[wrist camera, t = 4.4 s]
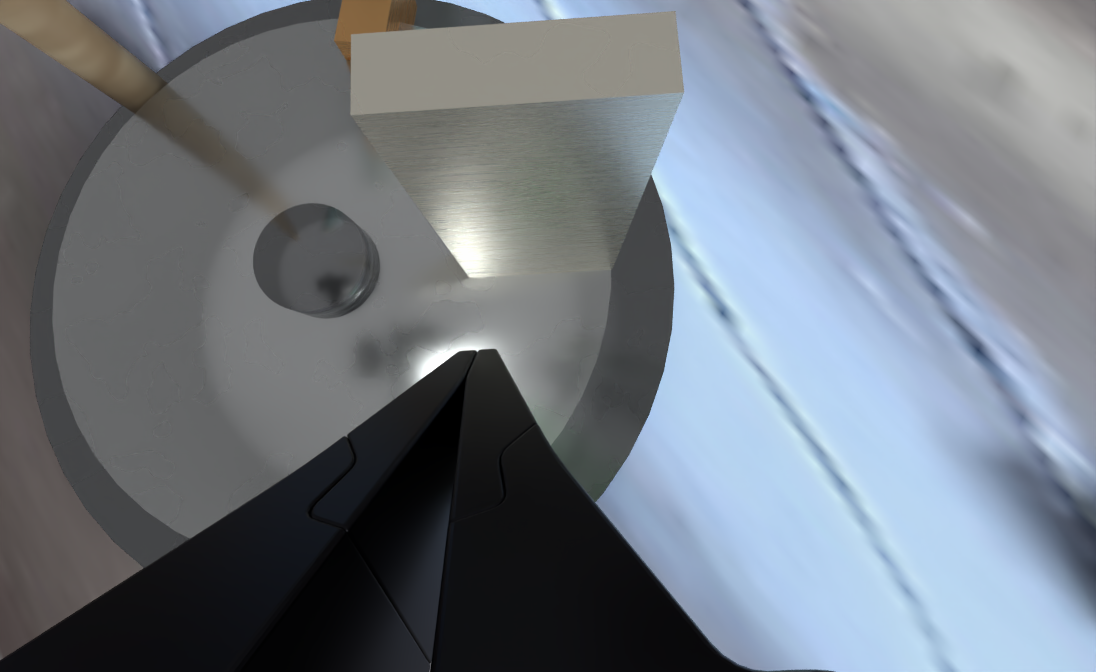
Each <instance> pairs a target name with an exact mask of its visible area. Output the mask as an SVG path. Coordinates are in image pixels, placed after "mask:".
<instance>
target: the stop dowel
mask: <svg viewBox="0 0 1096 672" xmlns="http://www.w3.org/2000/svg"><path fill="white" fill-rule="evenodd" d="M0 23H1V24H2V25H4V26H5V27H7V28H8V29H10V30H11V31H13V32H14V33H16V34H17V35H19V36H20V37H22V38H23V39H25V40H26V41H28V42H29V43H31V44H32V45H34V46H35V47H36V48H38V49H39V50H41V51H42V52H44V53H45V54H47V55H48V56H50V57H51V58H53V59H54V60H56V61H57V62H59V63H60V64H62V65H63V66H65V67H66V68H68V69H69V70H71V71H72V72H74V73H75V74H77V75H78V76H79V77H81V78H82V79H84V80H85V81H87V82H88V83H90V84H91V85H93V86H94V87H96V88H97V89H99V90H100V91H102V92H103V93H105V94H106V95H108V96H109V97H111V98H112V99H114V100H115V101H117V102H118V103H120V104H121V105H122V106H124V107H125V108H127V109H128V110H130V111H131V112H133V113H134V114H135V113H136V112H137V111H138V110H139V109H140V108H141V107H142V106H143V105H144V104H145V103H146V102H147V101H148V100H149V99H150V98H151V97H152V96H154V95H155V94H156V93H157V92H159V91H160V90H161V89H162V88H163V87H165V86H166V85H167V84H168V83H167V82H166V81H165V80H163V79H162V78H161V77H160V76H158V75H157V74H156V73H155V72H154V71H152V70H151V69H150V68H149V67H147V66H146V65H145V64H144V63H142V62H141V61H140V60H139V59H137V58H136V57H135V56H134V55H133V54H131V53H130V52H129V51H128V50H126V49H125V48H124V47H123V46H121V45H120V44H119V43H118V42H116V41H115V40H114V39H113V38H112V37H110V36H109V35H108V34H107V33H105V32H104V31H103V30H102V29H100V28H99V27H98V26H97V25H95V24H94V23H93V22H92V21H91V20H89V19H88V18H87V17H86V16H84V15H83V14H82V13H81V12H79V11H78V10H77V9H76V8H74V7H73V6H72V5H71V4H70V3H68V2H67V1H66V0H0Z"/></svg>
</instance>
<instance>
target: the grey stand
mask: <svg viewBox="0 0 1096 672" xmlns="http://www.w3.org/2000/svg"><path fill="white" fill-rule="evenodd" d="M416 11H417V4H416V1H415V0H342V4H341V8H340V13H339V18H338V19H328V20H320V21H313V22H305V23H298V24H294V25H290V26H286V27H282V28H278V29H274V30H270V31H266V32H264V33H261V34H258V35H256V36H253V37H250V38H248V39H245V40H242V41H240V42H237V43H234V44H232V45H230V46H228V47H226V48H224V49H222V50H220V51H218V52H216V53H215V54H213V55H211V56H209V57H207V58H205V59H203V60H201V61H200V62H198V63H197V64H195V65H194V66H192V67H191V68H189V69H188V70H186V71H185V72H183V73H182V74H180V75H179V76H177V77H176V78H174V79H173V80H172V81H171V82H169V83H168V84H167V85H166V86H165V87H163V88H162V89H161V90H160V91H159V92H157V93H156V94H155V95H154V96H152V97H151V98H150V99H149V100H148V101H147V102H146V103H145V104H144V105H143V106H142V107H141V108H140V109H139V110H138V111H137V112H136V113H135V114H134V115H133V116H132V117H131V118H130V119H129V121H128V122H127V123H126V124H125V125H124V126H123V127H122V128H121V130H120V131H119V132H118V134H117V135H116V136H115V138H114V139H113V140H112V141H111V143H110V144H109V145H108V147H107V148H106V149H105V151H104V152H103V153H102V155H101V157H100V158H99V160H98V162H97V163H96V165H95V167H94V168H93V170H92V172H91V173H90V175H89V177H88V179H87V180H86V182H85V184H84V186H83V188H82V190H81V193H80V195H79V197H78V199H77V202H76V204H75V206H74V208H73V211H72V213H71V215H70V218H69V221H68V224H67V228H66V231H65V234H64V238H63V241H62V244H61V248H60V251H59V257H58V263H57V269H56V275H55V281H54V290H53V317H52V323H53V333H54V344H55V354H56V360H57V364H58V368H59V372H60V377H61V381H62V385H63V389H64V393H65V395H66V398H67V400H68V403H69V405H70V408H71V410H72V413H73V416H74V418H75V421H76V423H77V425H78V427H79V429H80V431H81V432H82V434H83V436H84V438H85V439H86V441H87V443H88V445H89V446H90V448H91V450H92V452H93V453H94V455H95V457H96V458H97V459H98V460H99V462H100V463H101V464H102V466H103V467H104V468H105V469H106V471H107V472H108V473H109V474H110V476H111V477H112V478H113V479H114V481H115V482H116V483H117V485H118V486H119V487H121V488H122V489H123V490H124V491H125V492H126V493H127V494H128V495H129V496H130V497H131V498H132V499H133V500H134V501H135V502H137V503H138V504H139V505H140V506H141V507H142V508H143V509H144V510H145V511H147V512H148V513H150V514H151V515H152V516H154V517H155V518H157V519H158V520H160V521H161V522H163V523H164V524H165V525H167V526H168V527H170V528H171V529H173V530H174V531H176V532H178V533H180V534H182V535H184V536H186V537H188V538H192V537H193V536H195V535H196V534H198V533H200V532H201V531H203V530H204V529H206V528H207V527H209V526H210V525H212V524H214V523H215V522H217V521H218V520H220V519H221V518H223V517H224V516H226V515H228V514H229V513H231V512H232V511H234V510H235V509H237V508H238V507H240V506H242V505H243V504H245V503H246V502H248V501H249V500H251V499H252V498H254V497H256V496H257V495H259V494H260V493H262V492H263V491H265V490H267V489H268V488H270V487H271V486H273V485H274V484H276V483H277V482H279V481H280V480H282V479H283V478H285V477H286V476H288V475H289V474H291V473H292V472H294V471H295V470H297V469H298V468H300V467H301V466H303V465H304V464H306V463H307V462H309V461H310V460H311V459H313V458H314V457H316V456H317V455H318V454H320V453H321V452H323V451H324V450H325V449H327V448H328V447H330V446H331V445H332V444H334V443H335V442H336V441H338V440H339V439H340V438H342V437H343V436H346V437H347V434H348V433H349V432H351V431H352V430H353V429H355V428H356V427H357V426H359V425H360V424H361V423H363V422H364V421H366V420H367V419H368V418H370V417H371V416H372V415H374V414H375V413H376V412H378V411H379V410H380V409H382V408H383V407H384V406H386V405H387V404H388V403H390V402H391V401H392V400H394V399H395V398H396V397H398V396H399V395H400V394H402V393H403V392H404V391H406V390H407V389H408V388H410V387H411V386H412V385H414V384H415V383H416V382H418V381H419V380H421V379H422V378H423V377H425V376H426V375H427V374H429V373H430V372H431V371H433V370H434V369H435V368H437V367H438V366H439V365H441V364H442V363H443V362H445V361H446V360H447V359H449V358H450V357H451V356H453V355H454V354H455V353H457V352H458V351H464V350H476V351H477V352H478V351H479V350H481V349H496V350H497V351H498V352H499V354H500V356H501V358H502V360H503V362H504V363H505V365H506V367H507V369H508V371H509V373H510V374H511V376H512V378H513V380H514V382H515V383H516V385H517V387H518V389H519V391H520V393H521V394H522V396H523V398H524V400H525V402H526V404H527V405H528V407H529V409H530V411H531V413H532V414H533V416H534V418H535V420H536V422H537V424H538V425H539V426H540V428H541V430H542V432H543V434H544V435H545V437H546V439H547V440H548V442H549V444H550V445H552V443H553V442H554V441H555V439H556V438H557V437H558V436H559V434H560V433H561V432H562V430H563V429H564V427H565V425H566V423H567V422H568V420H569V418H570V416H571V415H572V413H573V411H574V409H575V408H576V406H577V404H578V402H579V401H580V399H581V397H582V395H583V393H584V390H585V388H586V386H587V383H588V381H589V378H590V376H591V373H592V371H593V369H594V366H595V364H596V361H597V358H598V354H599V350H600V347H601V343H602V339H603V335H604V331H605V328H606V324H607V316H608V308H609V300H610V292H611V269H613V266H614V264H615V261H616V259H617V256H618V254H619V251H620V249H621V246H622V244H623V242H624V239H625V237H626V234H627V232H628V229H629V227H630V224H631V222H632V219H633V217H634V215H635V212H636V210H637V207H638V205H639V202H640V200H641V197H642V195H643V192H644V190H645V188H646V185H647V183H648V180H649V178H650V175H651V173H652V170H653V168H654V165H655V163H656V160H657V158H658V156H659V153H660V151H661V148H662V146H663V143H664V141H665V138H666V136H667V133H668V131H669V129H670V126H671V124H672V121H673V119H674V116H675V114H676V111H677V109H678V106H679V104H680V102H681V99H682V97H683V94H684V86H683V77H682V68H681V59H680V50H679V41H678V32H677V23H676V13H675V11H671V12H657V13H643V14H629V15H615V16H601V17H587V18H573V19H559V20H545V21H531V22H517V23H503V24H489V25H475V26H461V27H447V28H432V29H427V28H423V27H419V26H414V22H415V16H416Z"/></svg>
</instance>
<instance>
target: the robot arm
mask: <svg viewBox="0 0 1096 672" xmlns="http://www.w3.org/2000/svg"><path fill="white" fill-rule="evenodd" d="M431 661H432V662H431ZM430 663H431V670H430ZM429 670H430V672H834V671H828V670H781V671H762V670H753V669H750V668H747V667H745V666H742V665H739V664H737V663H735V662H734V661H732V660H731V659H729V658H727V657H726V656H724V655H723V654H722V653H721V652H720V651H719V650H718V649H717V648H716V647H715V646H714V645H713V644H712V643H711V642H710V641H709V640H708V638H707V637H706V636H705V635H704V634H703V632H702V631H701V630H700V629H699V628H698V626H697V625H696V624H695V623H694V622H693V620H692V619H691V618H690V617H689V615H688V614H687V613H686V612H685V611H684V609H683V608H682V607H681V606H680V605H679V603H678V602H677V601H676V600H675V599H674V597H673V596H672V595H671V594H670V592H669V591H668V590H667V589H666V588H665V586H664V585H663V584H662V583H661V582H660V580H659V579H658V578H657V577H656V576H655V574H654V573H653V572H652V571H651V569H650V568H649V567H648V566H647V565H646V563H645V562H644V561H643V560H642V559H641V557H640V556H639V555H638V554H637V553H636V551H635V550H634V549H633V548H632V546H631V545H630V544H629V543H628V542H627V540H626V539H625V538H624V537H623V536H622V534H621V533H620V532H619V531H618V530H617V528H616V527H615V526H614V525H613V523H612V522H611V521H610V520H609V519H608V517H607V516H606V515H605V514H604V513H603V511H602V510H601V509H600V508H599V507H598V505H597V504H596V503H595V502H594V501H593V499H592V498H591V497H590V496H589V494H588V493H587V492H586V491H585V490H584V488H583V487H582V486H581V485H580V484H579V482H578V481H577V480H576V479H575V478H574V476H573V475H572V474H571V473H570V471H569V470H568V469H567V468H566V466H565V465H564V464H563V462H562V461H561V460H560V458H559V457H558V456H557V454H556V453H555V452H554V450H553V448H552V447H551V445H550V444H549V442H548V440H547V439H546V437H545V435H544V434H543V432H542V430H541V428H540V426H539V425H538V424H537V422H536V420H535V418H534V416H533V414H532V413H531V411H530V409H529V407H528V405H527V404H526V402H525V400H524V398H523V396H522V394H521V393H520V391H519V389H518V387H517V385H516V383H515V382H514V380H513V378H512V376H511V374H510V373H509V371H508V369H507V367H506V365H505V363H504V362H503V360H502V358H501V356H500V354H499V352H498V351H497V350H496V349H481V350H479V351H478V352H477V351H476V350H464V351H458V352H457V353H455V354H454V355H453V356H451V357H450V358H449V359H447V360H446V361H445V362H443V363H442V364H441V365H439V366H438V367H437V368H435V369H434V370H433V371H431V372H430V373H429V374H427V375H426V376H425V377H423V378H422V379H421V380H419V381H418V382H416V383H415V384H414V385H412V386H411V387H410V388H408V389H407V390H406V391H404V392H403V393H402V394H400V395H399V396H398V397H396V398H395V399H394V400H392V401H391V402H390V403H388V404H387V405H386V406H384V407H383V408H382V409H380V410H379V411H378V412H376V413H375V414H374V415H372V416H371V417H370V418H368V419H367V420H366V421H364V422H363V423H361V424H360V425H359V426H357V427H356V428H355V429H353V430H352V431H351V432H349V433H348V434H347V437H346V436H343V437H342V438H340V439H339V440H338V441H336V442H335V443H334V444H332V445H331V446H330V447H328V448H327V449H325V450H324V451H323V452H321V453H320V454H318V455H317V456H316V457H314V458H313V459H311V460H310V461H309V462H307V463H306V464H304V465H303V466H301V467H300V468H298V469H297V470H295V471H294V472H292V473H291V474H289V475H288V476H286V477H285V478H283V479H282V480H280V481H279V482H277V483H276V484H274V485H273V486H271V487H270V488H268V489H267V490H265V491H263V492H262V493H260V494H259V495H257V496H256V497H254V498H252V499H251V500H249V501H248V502H246V503H245V504H243V505H242V506H240V507H238V508H237V509H235V510H234V511H232V512H231V513H229V514H228V515H226V516H224V517H223V518H221V519H220V520H218V521H217V522H215V523H214V524H212V525H210V526H209V527H207V528H206V529H204V530H203V531H201V532H200V533H198V534H196V535H195V536H193V537H192V538H190V539H189V540H187V541H185V542H184V543H182V544H181V545H179V546H178V547H176V548H175V549H173V550H171V551H170V552H168V553H167V554H165V555H164V556H162V557H161V558H159V559H157V560H156V561H154V562H153V563H151V564H150V565H148V566H147V567H145V568H143V569H142V570H140V571H139V572H137V573H136V574H134V575H133V576H131V577H129V578H128V579H126V580H125V581H123V582H122V583H120V584H118V585H117V586H115V587H114V588H112V589H111V590H109V591H108V592H106V593H104V594H103V595H101V596H100V597H98V598H97V599H95V600H94V601H92V602H90V603H89V604H87V605H86V606H84V607H83V608H81V609H80V610H78V611H76V612H75V613H73V614H72V615H70V616H69V617H67V618H65V619H64V620H62V621H61V622H59V623H58V624H56V625H55V626H53V627H51V628H50V629H48V630H47V631H45V632H44V633H42V634H41V635H39V636H37V637H36V638H34V639H33V640H31V641H30V642H28V643H27V644H25V645H23V646H22V647H20V648H19V649H17V650H16V651H14V652H13V653H11V654H9V655H8V656H6V657H5V658H3V659H2V660H0V672H429Z"/></svg>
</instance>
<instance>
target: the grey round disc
mask: <svg viewBox="0 0 1096 672" xmlns="http://www.w3.org/2000/svg"><path fill="white" fill-rule="evenodd" d="M415 1H416V4H417V11H416V16H415V22H414V26H419V27H423V28H427V29H432V28H447V27H461V26H475V25H489V24H503V23H504V22H502V21H500V20H497V19H495V18H493V17H491V16H489V15H486V14H483V13H480V12H477V11H474V10H471V9H467V8H464V7H461V6H458V5H455V4H452V3H447V2H441V1H436V0H415ZM341 4H342V0H311V1H305V2H300V3H296V4H293V5H289V6H286V7H282V8H279V9H275V10H272V11H269V12H265V13H262V14H260V15H257V16H255V17H252V18H250V19H248V20H245V21H243V22H240V23H238V24H235V25H233V26H231V27H228V28H226V29H224V30H223V31H221V32H219V33H217V34H215V35H213V36H212V37H210V38H208V39H206V40H204V41H203V42H201V43H199V44H197V45H195V46H194V47H192V48H191V49H189V50H188V51H186V52H185V53H183V54H182V55H181V56H179V57H178V58H176V59H175V60H174V61H172V62H171V63H169V64H168V65H167V66H165V67H164V68H162V69H161V70H160V71H159V72H157V73H156V74H157V75H158V76H160V77H161V78H162V79H163V80H165V81H166V82H167V83H169V82H171V81H172V80H173V79H174V78H176V77H177V76H179V75H180V74H182V73H183V72H185V71H186V70H188V69H189V68H191V67H192V66H194V65H195V64H197V63H198V62H200V61H201V60H203V59H205V58H207V57H209V56H211V55H213V54H215V53H216V52H218V51H220V50H222V49H224V48H226V47H228V46H230V45H232V44H234V43H237V42H240V41H242V40H245V39H248V38H250V37H253V36H256V35H258V34H261V33H264V32H266V31H270V30H274V29H278V28H282V27H286V26H290V25H294V24H298V23H305V22H313V21H320V20H328V19H338V18H339V13H340V8H341ZM133 115H134V113H133V112H131V111H130V110H128V109H127V108H125V107H124V106H122V107H121V108H120V109H119V110H118V111H117V112H116V113H115V114H114V115H113V117H112V118H111V119H110V120H109V121H108V122H107V123H106V124H105V126H104V127H103V128H102V130H101V131H100V132H99V134H98V135H97V137H96V138H95V140H94V141H93V142H92V144H91V145H90V147H89V148H88V149H87V151H86V152H85V154H84V155H83V156H82V158H81V159H80V161H79V163H78V165H77V167H76V169H75V170H74V172H73V174H72V176H71V178H70V180H69V181H68V183H67V185H66V187H65V189H64V191H63V192H62V194H61V197H60V199H59V202H58V204H57V207H56V209H55V212H54V214H53V217H52V219H51V222H50V224H49V227H48V229H47V232H46V235H45V239H44V242H43V246H42V250H41V254H40V258H39V261H38V265H37V269H36V274H35V281H34V289H33V296H32V304H31V312H30V355H31V363H32V370H33V378H34V385H35V393H36V397H37V401H38V405H39V408H40V412H41V415H42V419H43V423H44V426H45V430H46V433H47V436H48V439H49V441H50V443H51V445H52V448H53V450H54V452H55V454H56V457H57V459H58V461H59V464H60V466H61V468H62V470H63V473H64V475H65V476H66V478H67V479H68V481H69V483H70V484H71V486H72V487H73V489H74V491H75V492H76V494H77V495H78V497H79V499H80V500H81V502H82V503H83V505H84V506H85V508H86V510H87V511H88V512H89V513H90V514H91V515H92V517H93V518H94V519H95V520H96V521H97V522H98V524H99V525H100V526H101V527H102V528H103V530H104V531H105V532H106V533H107V534H108V535H109V537H110V538H111V539H112V540H113V541H114V542H115V543H116V544H117V545H118V546H119V547H121V548H122V549H123V550H124V551H125V552H126V553H127V554H129V555H130V556H131V557H132V558H133V559H134V560H136V561H137V562H138V563H139V564H140V565H141V566H142V567H144V568H145V567H147V566H148V565H150V564H151V563H153V562H154V561H156V560H157V559H159V558H161V557H162V556H164V555H165V554H167V553H168V552H170V551H171V550H173V549H175V548H176V547H178V546H179V545H181V544H182V543H184V542H185V541H187V540H189V539H190V538H188V537H186V536H184V535H182V534H180V533H178V532H176V531H174V530H173V529H171V528H170V527H168V526H167V525H165V524H164V523H163V522H161V521H160V520H158V519H157V518H155V517H154V516H152V515H151V514H150V513H148V512H147V511H145V510H144V509H143V508H142V507H141V506H140V505H139V504H138V503H137V502H135V501H134V500H133V499H132V498H131V497H130V496H129V495H128V494H127V493H126V492H125V491H124V490H123V489H122V488H121V487H119V486H118V485H117V483H116V482H115V481H114V479H113V478H112V477H111V476H110V474H109V473H108V472H107V471H106V469H105V468H104V467H103V466H102V464H101V463H100V462H99V460H98V459H97V458H96V457H95V455H94V453H93V452H92V450H91V448H90V446H89V445H88V443H87V441H86V439H85V438H84V436H83V434H82V432H81V431H80V429H79V427H78V425H77V423H76V421H75V418H74V416H73V413H72V410H71V408H70V405H69V403H68V400H67V398H66V395H65V393H64V389H63V385H62V381H61V377H60V372H59V368H58V364H57V360H56V354H55V344H54V333H53V323H52V317H53V290H54V281H55V275H56V269H57V263H58V257H59V251H60V248H61V244H62V241H63V238H64V234H65V231H66V228H67V224H68V221H69V218H70V215H71V213H72V211H73V208H74V206H75V204H76V202H77V199H78V197H79V195H80V193H81V190H82V188H83V186H84V184H85V182H86V180H87V179H88V177H89V175H90V173H91V172H92V170H93V168H94V167H95V165H96V163H97V162H98V160H99V158H100V157H101V155H102V153H103V152H104V151H105V149H106V148H107V147H108V145H109V144H110V143H111V141H112V140H113V139H114V138H115V136H116V135H117V134H118V132H119V131H120V130H121V128H122V127H123V126H124V125H125V124H126V123H127V122H128V121H129V119H130V118H131V117H132V116H133ZM673 300H674V277H673V264H672V251H671V243H670V238H669V233H668V229H667V224H666V220H665V215H664V210H663V206H662V203H661V200H660V197H659V195H658V192H657V189H656V186H655V184H654V181H653V178H652V175H650V178H649V180H648V183H647V185H646V188H645V190H644V192H643V195H642V197H641V200H640V202H639V205H638V207H637V210H636V212H635V215H634V217H633V219H632V222H631V224H630V227H629V229H628V232H627V234H626V237H625V239H624V242H623V244H622V246H621V249H620V251H619V254H618V256H617V259H616V261H615V264H614V266H613V269H611V292H610V300H609V308H608V316H607V324H606V328H605V331H604V335H603V339H602V343H601V347H600V350H599V354H598V358H597V361H596V364H595V366H594V369H593V371H592V373H591V376H590V378H589V381H588V383H587V386H586V388H585V390H584V393H583V395H582V397H581V399H580V401H579V402H578V404H577V406H576V408H575V409H574V411H573V413H572V415H571V416H570V418H569V420H568V422H567V423H566V425H565V427H564V429H563V430H562V432H561V433H560V434H559V436H558V437H557V438H556V439H555V441H554V442H553V443H552V445H551V447H552V448H553V450H554V452H555V453H556V454H557V456H558V457H559V458H560V460H561V461H562V462H563V464H564V465H565V466H566V468H567V469H568V470H569V471H570V473H571V474H572V475H573V476H574V478H575V479H576V480H577V481H578V482H579V484H580V485H581V486H582V487H583V488H584V490H585V491H586V492H587V493H588V494H589V496H590V497H591V498H592V499H593V501H594V502H596V501H597V500H598V499H599V497H600V496H601V495H602V494H603V493H604V491H605V490H606V488H607V487H608V485H609V484H610V482H611V481H612V480H613V478H614V477H615V475H616V474H617V472H618V471H619V469H620V468H621V466H622V465H623V463H624V462H625V460H626V459H627V457H628V456H629V454H630V452H631V450H632V448H633V446H634V444H635V442H636V440H637V438H638V436H639V434H640V432H641V430H642V428H643V426H644V424H645V422H646V420H647V418H648V416H649V413H650V410H651V407H652V404H653V402H654V399H655V396H656V393H657V390H658V387H659V384H660V381H661V378H662V375H663V372H664V367H665V362H666V357H667V351H668V346H669V341H670V336H671V331H672V317H673Z"/></svg>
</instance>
